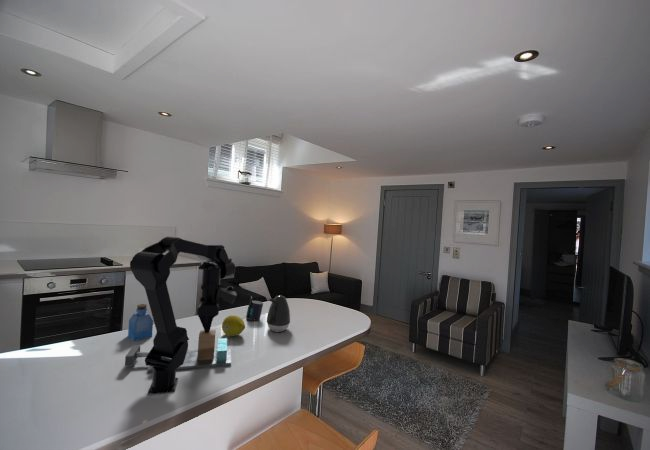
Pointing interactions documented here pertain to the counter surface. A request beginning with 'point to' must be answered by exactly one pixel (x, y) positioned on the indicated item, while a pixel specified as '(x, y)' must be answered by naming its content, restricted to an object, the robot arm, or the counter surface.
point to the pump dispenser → (278, 314)
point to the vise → (220, 359)
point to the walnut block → (206, 345)
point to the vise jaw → (135, 355)
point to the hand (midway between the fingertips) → (208, 327)
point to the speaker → (254, 310)
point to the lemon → (233, 325)
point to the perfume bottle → (140, 324)
